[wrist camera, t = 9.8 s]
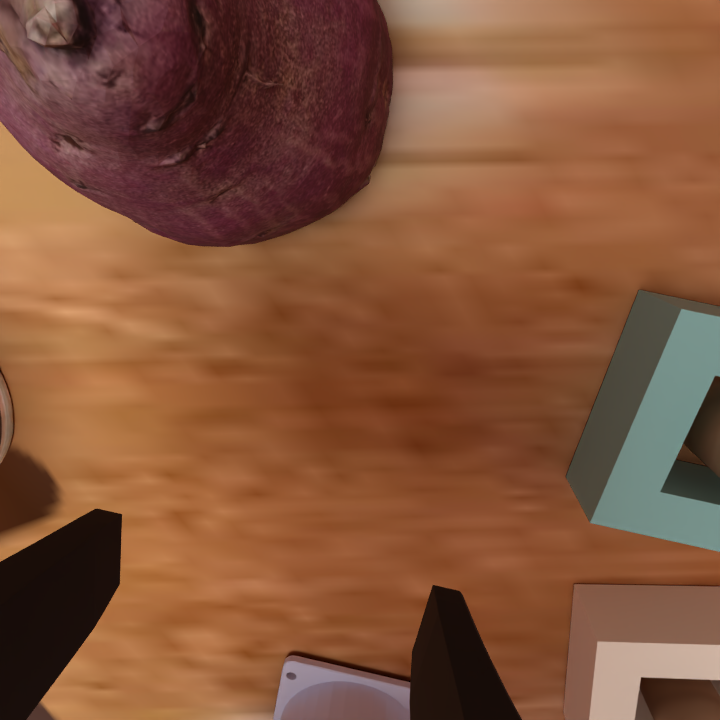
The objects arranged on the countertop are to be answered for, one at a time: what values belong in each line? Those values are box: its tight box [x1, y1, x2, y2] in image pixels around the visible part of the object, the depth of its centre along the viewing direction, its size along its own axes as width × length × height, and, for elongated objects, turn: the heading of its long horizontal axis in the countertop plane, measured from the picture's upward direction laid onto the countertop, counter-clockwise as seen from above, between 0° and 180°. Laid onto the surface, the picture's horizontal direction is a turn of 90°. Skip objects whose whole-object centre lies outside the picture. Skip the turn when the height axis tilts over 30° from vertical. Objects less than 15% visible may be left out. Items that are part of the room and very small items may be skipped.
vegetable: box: [0, 0, 393, 247], centre depth 11 cm, size 10×10×15 cm
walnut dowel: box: [639, 677, 720, 720], centre depth 20 cm, size 3×3×6 cm
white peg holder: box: [563, 584, 720, 720], centre depth 22 cm, size 8×8×3 cm
